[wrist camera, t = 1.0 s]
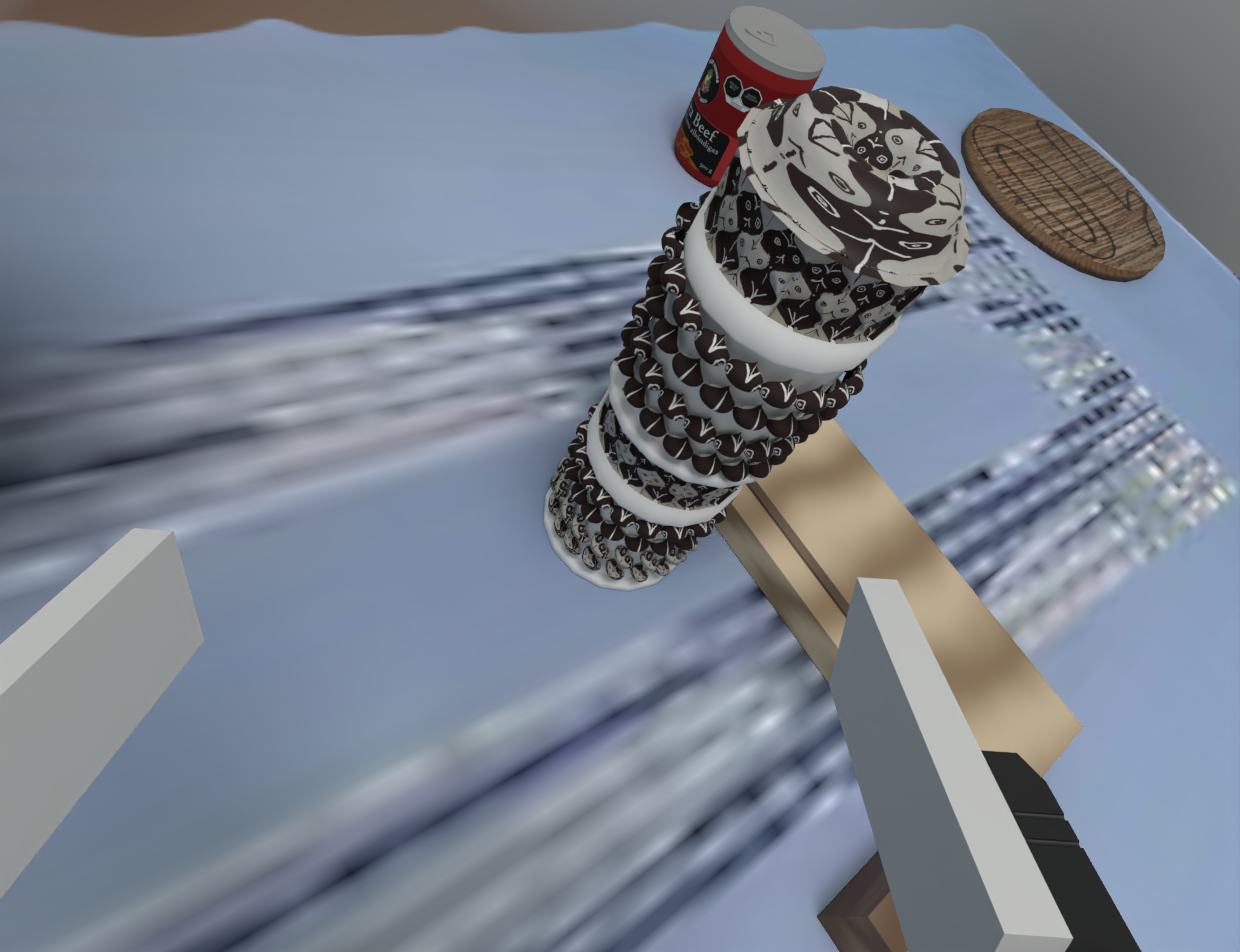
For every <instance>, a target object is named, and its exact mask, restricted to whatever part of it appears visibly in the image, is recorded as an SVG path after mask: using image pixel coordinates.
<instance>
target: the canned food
mask: <svg viewBox="0 0 1240 952" xmlns="http://www.w3.org/2000/svg"><path fill="white" fill-rule="evenodd" d="M825 63H826V57H825V54H824V51H823V49H822V48H821V46H820V45H819V43H818V42H817V41H816V40H815V38H814V37H813V36H812V35H811V34H810V33H809V32H807V31H806V30H805V29H804V28H802V27H801V26H800V25H798V24H797V23H795V22H794V21H792V20H790V19H789V18H787V17H785V16H783V15H781V14H779V13H777V12H774V11H771V10H768V9H764V8H761V7H755V6H742V7H737V8H735V9H734V10H733V11H732V12H731V14H730V16H729V18H728V19H727V21H726V23H725V25H724V27H723V29H722V32H721V34H720V35H719V38H718V40H717V42H716V45H715V47H714V49H713V52H712V54H711V56H710V58H709V61H708V63H707V65H706V68H705V70H704V72H703V75H702V77H701V79H700V82H699V84H698V86H697V88H696V91H695V93H694V95H693V98H692V100H691V102H690V105H689V107H688V109H687V111H686V114H685V116H684V118H683V121H682V123H681V125H680V128H679V130H678V132H677V136H676V142H675V153H676V155H677V158H678V160H679V161H680V163H681V165H682V166H683V167H684V168H685V169H686V171H687V172H689V173H690V174H691V175H692V176H693V177H694V178H696V179H697V180H699V181H700V182H702V183H704V184H706V185H708V186H710V187H712V188H714V187H716V186H718V185H719V183H720V181H721V179H722V177H723V175H724V173H725V171H726V169H727V167H728V165H729V164H730V162H731V160H732V158H733V156H734V154H735V152H736V151H737V149H738V147H739V142H738V133H737V131H738V129H739V127H740V126H741V124H742V123H743V121H744V120H745V118H746V116H747V115H748V113H749V112H750V110H751V109H752V108H754V107H757V106H759V105H762V104H765V103H768V102H771V101H774V100H777V99H780V98H783V99H793V98H795V97H797V96H799V95H802V94H805V93H808V92H811V90H812V89H813V87H814V85H815V83H816V81H817V79H818V78H819V76H820V74H821V72H822V69H823V67H824V65H825Z"/></svg>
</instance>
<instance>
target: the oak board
mask: <svg viewBox="0 0 1240 952" xmlns="http://www.w3.org/2000/svg"><path fill="white" fill-rule="evenodd" d="M726 510H727V516H726V518H725V520H724V521H722V522H721V523H718V524H714V525H715V526H716V528H717V529H718V530H719V532H720V533H721V534H722V536H723V537H724V539H725V540H726V541H727V543H728V544H729V546H730V547H731V548H732V550H733V551H734V553H735V554H736V555H737V557H738V558H739V559H740V561H741V562H742V564H743V565H744V566H745V568H746V569H747V571H748V572H749V573H750V575H751V576H752V577H753V579H754V580H755V582H756V583H757V584H758V586H759V587H760V589H761V590H762V591H763V593H764V594H765V596H766V597H767V598H768V600H769V601H770V602H771V604H772V605H773V607H774V608H775V609H776V611H777V612H778V614H779V615H780V616H781V618H782V619H783V621H784V622H785V623H786V625H787V626H788V627H789V629H790V630H791V632H792V633H793V634H794V636H795V637H796V639H797V640H798V641H799V643H800V644H801V645H802V647H803V648H804V650H805V651H806V652H807V654H808V655H809V657H810V658H811V659H812V661H813V662H814V664H815V665H816V666H817V668H818V669H819V670H820V672H821V673H822V675H823V676H824V677H825V679H826V680H827V682H828V683H829V682H830V679H831V675H832V671H833V667H834V663H835V660H836V656H837V652H838V648H839V644H840V640H841V637H842V633H843V629H844V625H845V621H846V618H847V614H848V610H849V606H850V602H851V598H852V595H853V591H854V587H855V583H856V579H857V577H862V578H877V579H892V580H897V581H898V583H899V585H900V587H901V589H902V591H903V593H904V595H905V597H906V599H907V601H908V603H909V605H910V607H911V609H912V611H913V613H914V615H915V617H916V619H917V621H918V623H919V625H920V627H921V629H922V631H923V633H924V636H925V638H926V640H927V642H928V644H929V646H930V648H931V650H932V652H933V654H934V656H935V658H936V660H937V662H938V664H939V666H940V668H941V670H942V672H943V674H944V676H945V678H946V680H947V682H948V684H949V686H950V688H951V691H952V693H953V695H954V697H955V699H956V701H957V703H958V705H959V707H960V709H961V711H962V713H963V715H964V717H965V719H966V721H967V723H968V725H969V727H970V729H971V731H972V733H973V735H974V737H975V739H976V741H977V743H978V745H979V748H980V750H983V751H997V752H1012V753H1018V754H1019V755H1020V756H1021V757H1022V758H1023V759H1024V760H1025V761H1026V762H1027V763H1028V764H1029V765H1030V766H1031V767H1032V768H1033V769H1034V770H1035V771H1036V772H1037V773H1038V774H1039V775H1040V776H1041V777H1043V776H1044V775H1045V774H1046V772H1047V771H1048V770H1049V769H1050V767H1051V766H1052V765H1053V764H1054V763H1055V761H1056V760H1057V759H1058V758H1059V756H1060V755H1061V754H1062V753H1063V752H1064V750H1065V749H1066V748H1067V747H1068V745H1069V744H1070V743H1071V742H1072V740H1073V739H1074V738H1075V737H1076V736H1077V734H1078V733H1079V732H1080V731H1081V729H1082V728H1083V726H1082V725H1081V723H1080V722H1079V721H1078V720H1077V718H1076V717H1075V716H1074V715H1073V713H1072V712H1071V711H1070V710H1069V708H1068V707H1067V706H1066V705H1065V704H1064V702H1063V701H1062V700H1061V699H1060V697H1059V696H1058V695H1057V694H1056V692H1055V691H1054V690H1053V689H1052V688H1051V686H1050V685H1049V684H1048V683H1047V681H1046V680H1045V679H1044V678H1043V676H1042V675H1041V674H1040V673H1039V672H1038V670H1037V669H1036V668H1035V667H1034V665H1033V664H1032V663H1031V662H1030V660H1029V659H1028V658H1027V657H1026V655H1025V654H1024V653H1023V652H1022V651H1021V649H1020V648H1019V647H1018V646H1017V644H1016V643H1015V642H1014V641H1013V639H1012V638H1011V637H1010V636H1009V635H1008V633H1007V632H1006V631H1005V630H1004V628H1003V627H1002V626H1001V625H1000V623H999V622H998V621H997V620H996V618H995V617H994V616H993V615H992V614H991V612H990V611H989V610H988V609H987V607H986V606H985V605H984V604H983V602H982V601H981V600H980V599H979V598H978V596H977V595H976V594H975V593H974V591H973V590H972V589H971V588H970V586H969V585H968V584H967V583H966V581H965V580H964V579H963V578H962V577H961V575H960V574H959V573H958V572H957V570H956V569H955V568H954V567H953V565H952V564H951V563H950V562H949V561H948V559H947V558H946V557H945V556H944V554H943V553H942V552H941V551H940V549H939V548H938V547H937V546H936V545H935V543H934V542H933V541H932V540H931V538H930V537H929V536H928V535H927V533H926V532H925V531H924V530H923V528H922V527H921V526H920V525H919V524H918V522H917V521H916V520H915V519H914V517H913V516H912V515H911V514H910V512H909V511H908V510H907V509H906V508H905V506H904V505H903V504H902V503H901V501H900V500H899V499H898V498H897V496H896V495H895V494H894V493H893V491H892V490H891V489H890V488H889V487H888V485H887V484H886V483H885V482H884V480H883V479H882V478H881V477H880V475H879V474H878V473H877V472H876V471H875V469H874V468H873V467H872V466H871V464H870V463H869V462H868V461H867V459H866V458H865V457H864V456H863V455H862V453H861V452H860V451H859V450H858V448H857V447H856V446H855V445H854V443H853V442H852V441H851V440H850V438H849V437H848V436H847V435H846V434H845V432H844V431H843V430H842V429H841V427H840V426H839V425H838V424H837V422H836V421H835V420H834V419H831V420H828V421H822V424H821V427H820V429H819V430H818V431H817V432H816V433H815V434H812V435H809V436H808V438H807V440H806V441H805V442H803V443H800V444H795V448H794V450H793V452H792V453H791V454H790V455H789V456H787V459H786V461H785V462H784V463H782V464H780V465H774V466H773V467H772V468H771V472H770V473H769V475H768V476H767V477H765V478H758V479H757V480H756V481H755V482H752V483H747V484H743V486H742V489H741V492H740V493H739V494H738V495H737V496H736V497H735V499H734V500H733V502H732V503H731V504H729V505H727V506H726Z"/></svg>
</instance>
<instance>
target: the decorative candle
mask: <svg viewBox="0 0 1240 952" xmlns="http://www.w3.org/2000/svg"><path fill="white" fill-rule="evenodd" d="M737 133H738V142H739V147H738V149H737V151H736V152H735V154H734V156H733V158H732V160H731V162H730V164H729V165H728V167H727V169H726V171H725V173H724V175H723V177H722V179H721V181H720V183H719V185H718V186H716V187H714V188H713V189H712V191H709V192H706V193H705V194H703V195H702V194H701V195H702V196H700V199H699V205H700V206H697V205H695V203H693V202H687V203H683V204H682V205H681V206H680V208H679V209H678V211H677V214H676V223H677V227H672V228H670V229H669V230H667V231H666V232H665V233H664V234H663V237H662V239H661V241H662V248H663V251H664V253H665V254H666V255H661V256H658V257H656V258H654V259H653V260H652V262H651V263H650V264H649V267H648V275H649V277H650V279H649V280H648V282H647V285H646V296H645V298H642V299H640V300H638V301H637V302H636V303H635V304H634V305H633V307H632V316H633V319H634V320H633V321H630V322H628V323H627V324H626V325H625V326H624V328H623V329H622V332H621V337H622V340H623V347H622V349H621V350H620V352H619V354H618V355H617V357H616V358H615V359H614V362H613V363H612V365H611V367H610V385H609V388H608V390H607V392H606V393H605V395H604V397H603V398H602V400H601V402H600V403H599V404H596V405H593V406H592V407H590V409H589V412H588V416H589V420H587V421H584V422H582V423H581V424H580V425H579V426H578V428H577V431H576V435H577V437H578V438H576V439H574V440H573V441H572V442H571V443H570V444H569V447H568V451H569V454H567V455H566V456H564V457H563V458H562V459H561V461H560V462H559V465H558V468H557V470H558V471H557V472H556V473H555V474H554V475H553V477H552V479H551V483H550V484H551V487H550V489H549V490H548V492H547V494H546V496H545V507H544V519H543V523H544V526H545V529H546V531H547V534H548V537H549V540H550V543H551V546H552V549H553V550H554V551H555V552H556V554H557V555H558V556H559V557H560V558H561V559H562V561H563V562H564V563H565V564H566V565H567V566H568V568H569V569H570V570H571V571H572V572H573V573H575V574H576V575H578V576H580V577H582V578H584V579H585V580H587V581H589V582H591V583H593V584H594V585H596V586H598V587H601V588H608V589H615V590H621V591H628V592H629V591H632V590H636V589H640V588H644V587H648V586H651V585H655V584H656V583H657V582H658V581H660V580H661V579H662V578H663V577H664V576H666V575H668V573H669V572H670V571H671V570H672V569H674V568H675V567H676V565H677V564H679V563H680V562H683V561H685V560H686V553H685V552H684V551H683V550H688V551H694V550H696V549H697V548H698V542H697V540H696V537H705V536H708V535H709V534H710V533H711V532H712V531H713V524H718V523H721V522H722V521H724V520H725V518H726V516H727V510H726V506H727V505H729V504H731V503H732V502H733V500H734V499H735V497H736V496H737V495H738V494H739V493H740V492H741V489H742V486H743V484H747V483H752V482H755V481H756V480H757V479H758V478H765V477H767V476H768V475H769V473H770V472H771V468H772V467H773V466H774V465H780V464H782V463H784V462H785V461H786V459H787V456H789V455H790V454H791V453H792V452H793V450H794V448H795V444H800V443H803V442H805V441H806V440H807V438H808V436H809V435H812V434H815V433H816V432H817V431H818V430H819V429H820V427H821V424H822V421H828V420H831V419H833V418H834V417H836V415H837V412H838V409H841V408H843V407H844V406H845V405H846V404H847V403H848V401H849V399H850V395H856V394H858V393H859V392H860V391H861V390H862V388H863V384H864V380H863V376H862V374H861V371H862V370H864V368H865V367H866V365H867V358H868V357H869V356H870V355H871V354H873V353H874V352H875V351H876V350H877V349H878V348H879V347H880V346H881V345H882V344H883V343H884V342H885V341H886V339H887V338H888V337H889V336H890V335H891V334H892V333H893V332H894V331H895V330H896V329H897V328H898V325H899V321H900V317H901V314H902V313H903V312H904V311H905V310H907V309H908V308H909V307H910V306H911V305H912V304H913V303H914V302H915V301H916V300H917V299H918V298H919V297H920V296H921V295H922V294H923V292H924V290H925V289H926V287H927V286H928V285H939V284H943V283H945V282H946V281H947V280H949V279H950V278H951V277H953V276H954V275H955V274H957V273H958V272H959V271H960V270H962V269H963V268H964V267H965V266H966V260H967V255H968V250H969V244H970V236H969V233H968V230H967V227H966V224H965V221H964V218H963V210H964V205H965V200H966V188H965V185H964V182H963V179H962V176H961V174H960V171H959V168H958V165H957V162H956V161H955V159H954V158H953V157H952V155H951V154H950V153H949V151H948V150H947V149H946V147H945V146H944V145H943V143H942V142H941V141H940V139H939V138H938V137H937V136H936V135H935V134H933V133H932V132H931V131H930V130H929V129H928V128H927V127H925V126H924V125H923V124H922V123H921V122H920V121H919V120H917V119H916V118H915V117H914V116H912V115H911V114H909V113H907V112H906V111H904V110H902V109H901V108H899V107H897V106H896V105H894V104H893V103H891V102H889V101H888V100H886V99H883V98H880V97H878V96H875V95H872V94H870V93H867V92H864V91H862V90H859V89H854V88H844V87H834V86H826V87H823V88H820V89H817V90H814V91H811V92H808V93H805V94H802V95H799V96H797V97H795V98H793V99H783V98H780V99H777V100H774V101H771V102H768V103H765V104H762V105H759V106H757V107H754V108H752V109H751V110H750V112H749V113H748V115H747V116H746V118H745V120H744V121H743V123H742V124H741V126H740V127H739V129H738V131H737ZM688 229H689V230H688ZM687 231H688V233H687ZM683 250H684V259H681V258H680V256H681V252H682V251H683ZM652 316H653V317H652ZM651 317H652V319H651V320H650V318H651ZM649 320H650V321H649ZM843 372H846V375H845V376H844V378H843V381H842V383H841V381H840V380H839V379H838V378H839V377H840V376H841V374H842V373H843Z"/></svg>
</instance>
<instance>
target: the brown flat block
mask: <svg viewBox="0 0 1240 952" xmlns="http://www.w3.org/2000/svg"><path fill="white" fill-rule="evenodd" d="M817 917H818V919H819V920H820V922H821V923H822V925H823V926H824V928H825V929H826V931H827V932H828V934H829V936H830V937H831V939H832V940H833V942H834V943H835V945H836V946H837V948H838V949H839V951H840V952H907V951H908V950H907V946H906V943H905V940H904V936H903V933H902V929H901V926H900V923H899V919H898V916H897V912H896V909H895V906H894V902H893V899H892V895H891V892H890V889H889V885H888V882H887V878H886V875H885V872H884V868H883V865H882V862H881V858H880V855H879V851H878V852H877V853H876V854H875V855H874V856H873V857H872V858H871V860H870V861H869V862H868V863H867V864H866V865H865V866H864V867H863V868H862V869H861V870H860V871H859V872H858V873H857V875H856V876H855V877H854V878H853V879H852V880H851V881H850V882H849V883H848V884H847V885H846V886H845V887H844V889H843V890H842V891H841V892H840V893H839V894H838V895H837V896H836V897H835V898H834V899H833V900H832V901H831V902H830V904H829V905H828V906H827V907H826V908H825V909H824V910H823V911H822V912H821V913H820V914H819V915H818V916H817Z"/></svg>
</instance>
